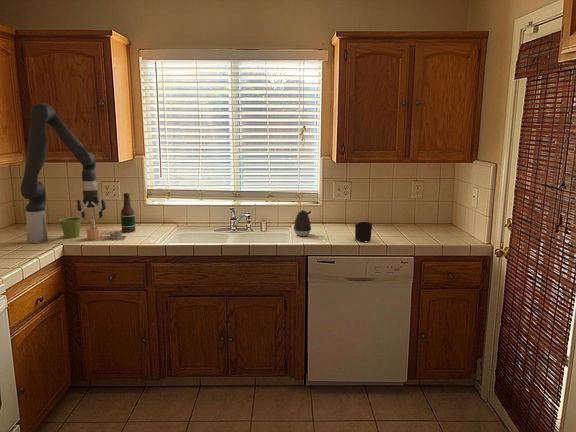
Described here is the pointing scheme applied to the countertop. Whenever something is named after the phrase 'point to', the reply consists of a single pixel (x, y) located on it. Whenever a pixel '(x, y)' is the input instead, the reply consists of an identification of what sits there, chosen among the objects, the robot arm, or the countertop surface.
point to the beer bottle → (127, 216)
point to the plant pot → (71, 226)
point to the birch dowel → (92, 224)
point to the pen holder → (363, 231)
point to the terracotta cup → (93, 233)
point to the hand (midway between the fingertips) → (92, 218)
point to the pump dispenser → (302, 223)
